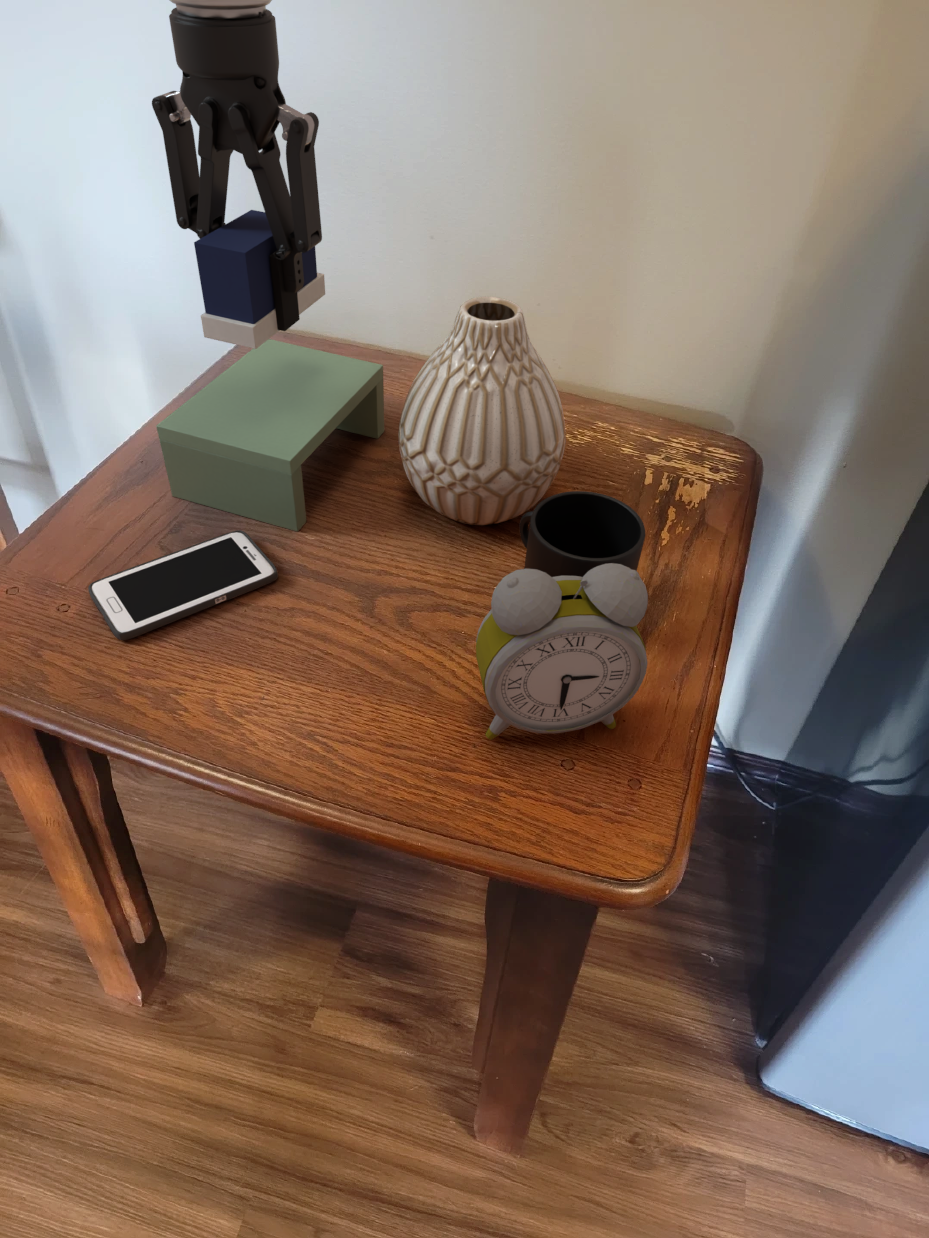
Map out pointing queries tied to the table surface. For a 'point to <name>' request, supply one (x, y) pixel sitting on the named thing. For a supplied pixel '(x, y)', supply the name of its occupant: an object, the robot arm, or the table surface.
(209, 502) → the sage green footstool
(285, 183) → the robot arm
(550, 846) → the table surface
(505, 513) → the vase
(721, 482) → the table surface
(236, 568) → the cell phone
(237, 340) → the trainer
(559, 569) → the mug
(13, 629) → the table surface
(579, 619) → the alarm clock
